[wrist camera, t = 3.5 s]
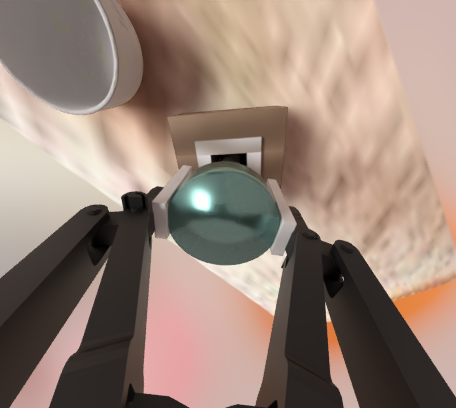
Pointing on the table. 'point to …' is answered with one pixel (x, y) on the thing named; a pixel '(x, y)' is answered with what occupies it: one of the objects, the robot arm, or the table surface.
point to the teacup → (71, 52)
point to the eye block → (232, 138)
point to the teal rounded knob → (224, 213)
